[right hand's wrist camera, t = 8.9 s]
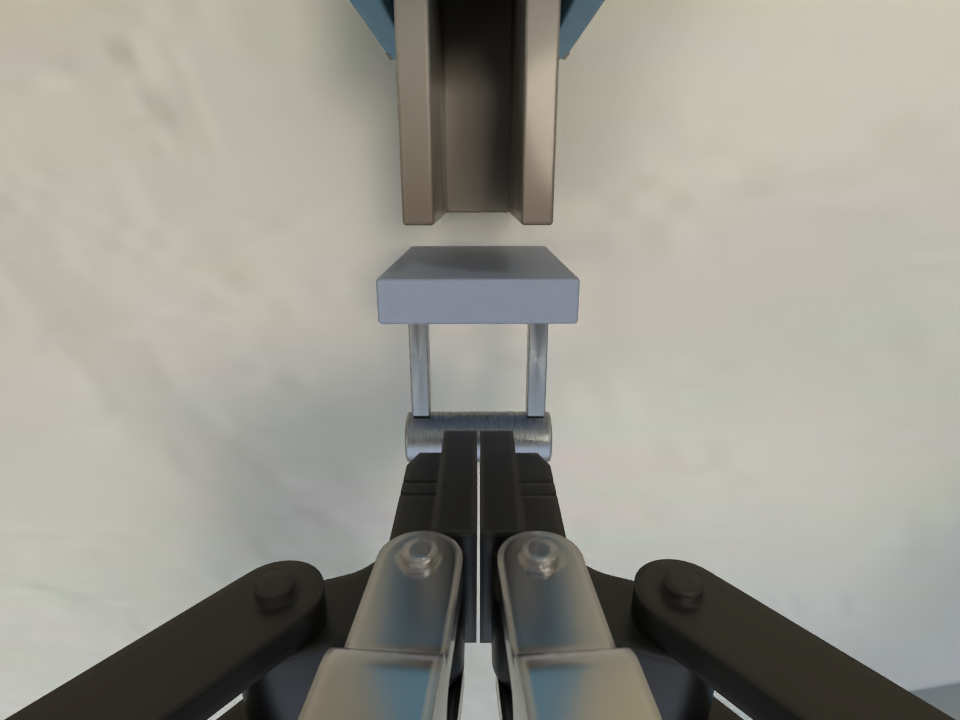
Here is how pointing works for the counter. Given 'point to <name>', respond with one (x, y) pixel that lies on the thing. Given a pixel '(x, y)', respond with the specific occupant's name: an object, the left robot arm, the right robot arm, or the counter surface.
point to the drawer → (477, 194)
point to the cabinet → (574, 17)
